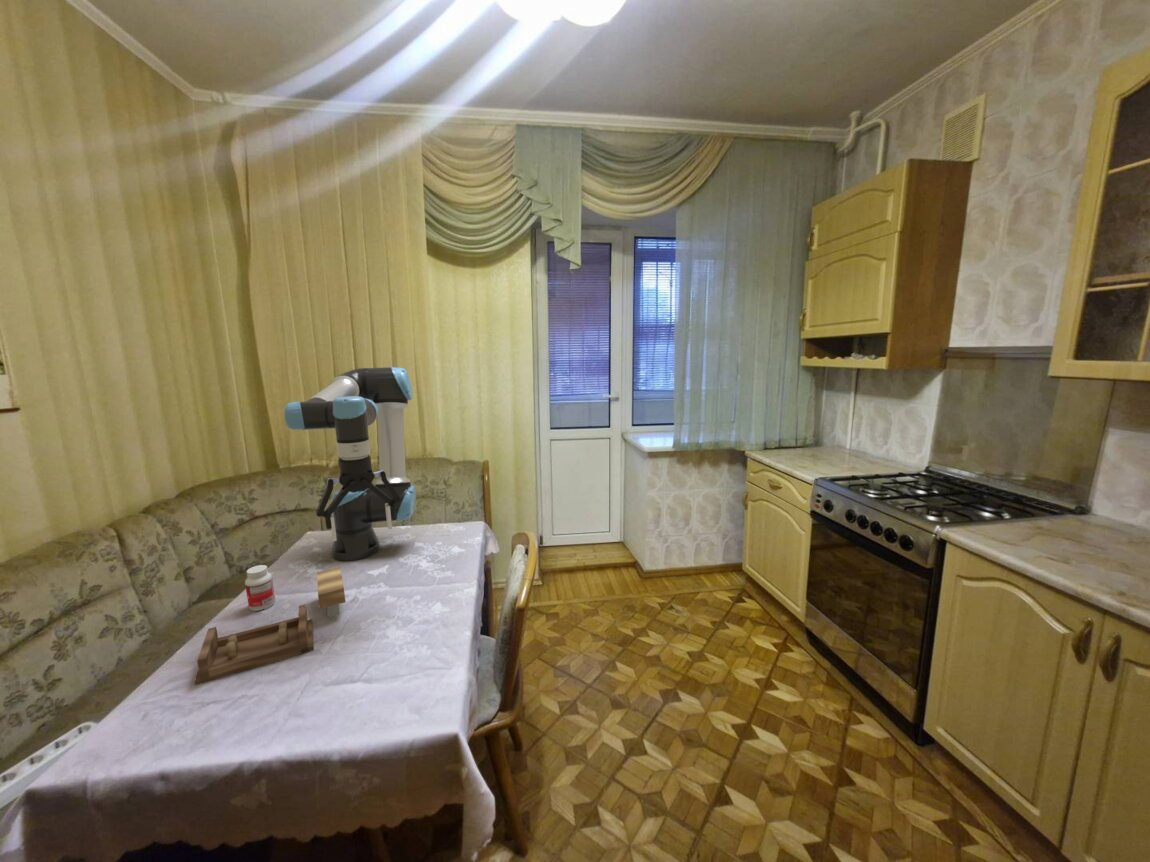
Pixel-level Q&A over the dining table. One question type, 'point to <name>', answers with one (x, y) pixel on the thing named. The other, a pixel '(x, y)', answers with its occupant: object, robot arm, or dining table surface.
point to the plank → (330, 587)
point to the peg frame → (253, 647)
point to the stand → (333, 610)
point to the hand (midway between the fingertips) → (362, 533)
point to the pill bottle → (259, 588)
